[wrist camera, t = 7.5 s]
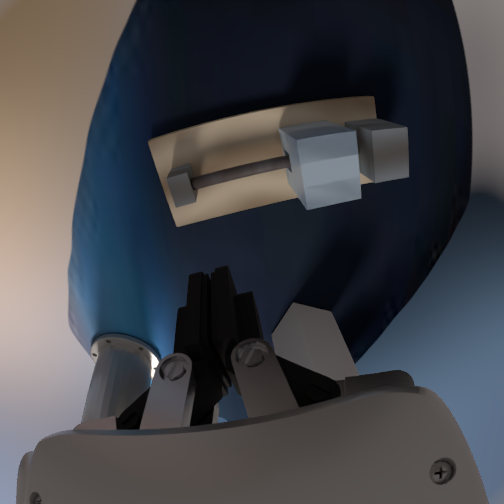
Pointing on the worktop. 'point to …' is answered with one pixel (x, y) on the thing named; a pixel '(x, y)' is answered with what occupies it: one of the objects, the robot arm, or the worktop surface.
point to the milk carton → (313, 342)
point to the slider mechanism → (264, 156)
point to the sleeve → (322, 163)
